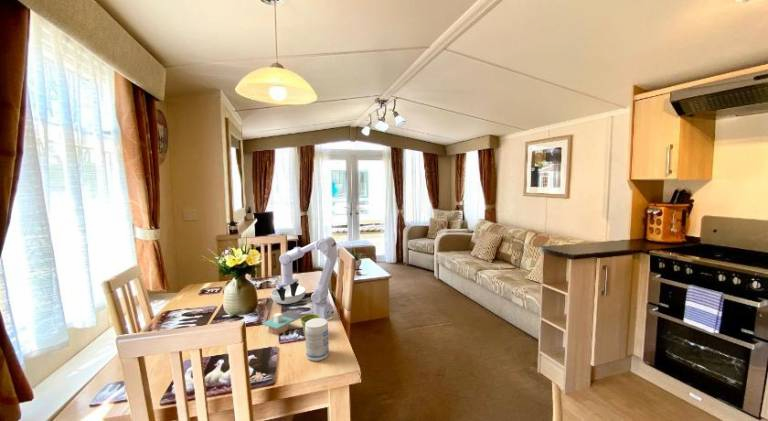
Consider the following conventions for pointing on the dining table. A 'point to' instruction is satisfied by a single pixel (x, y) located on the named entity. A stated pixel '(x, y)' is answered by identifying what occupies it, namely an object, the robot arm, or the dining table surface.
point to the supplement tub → (317, 339)
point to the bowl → (278, 330)
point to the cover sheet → (278, 325)
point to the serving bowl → (288, 295)
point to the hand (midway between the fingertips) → (288, 298)
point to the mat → (292, 315)
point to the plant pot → (307, 318)
